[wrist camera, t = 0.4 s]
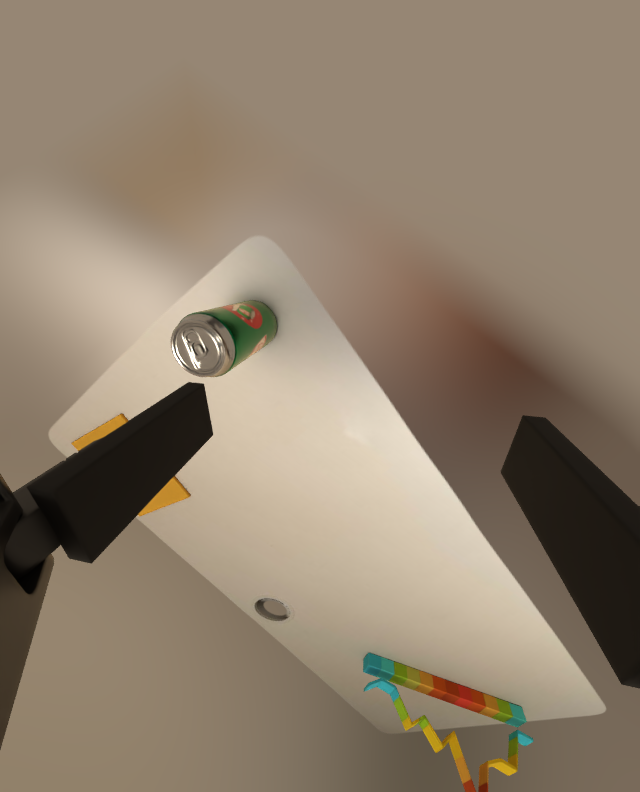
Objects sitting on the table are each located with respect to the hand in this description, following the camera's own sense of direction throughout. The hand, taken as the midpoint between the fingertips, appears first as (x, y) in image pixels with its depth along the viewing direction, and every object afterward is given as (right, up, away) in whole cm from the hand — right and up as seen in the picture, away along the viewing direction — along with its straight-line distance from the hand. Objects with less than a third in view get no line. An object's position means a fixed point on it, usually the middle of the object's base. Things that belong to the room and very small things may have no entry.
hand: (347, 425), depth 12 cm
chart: (+22, -54, +42) cm, 72 cm away
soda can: (-8, +9, +20) cm, 23 cm away
